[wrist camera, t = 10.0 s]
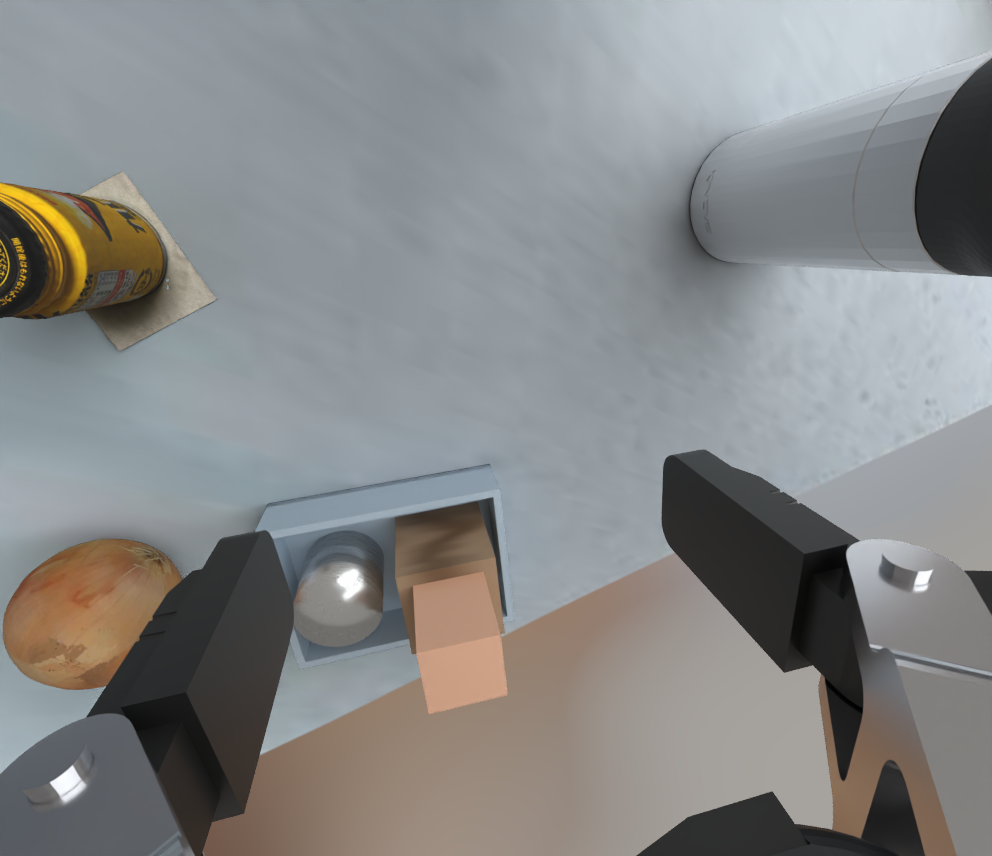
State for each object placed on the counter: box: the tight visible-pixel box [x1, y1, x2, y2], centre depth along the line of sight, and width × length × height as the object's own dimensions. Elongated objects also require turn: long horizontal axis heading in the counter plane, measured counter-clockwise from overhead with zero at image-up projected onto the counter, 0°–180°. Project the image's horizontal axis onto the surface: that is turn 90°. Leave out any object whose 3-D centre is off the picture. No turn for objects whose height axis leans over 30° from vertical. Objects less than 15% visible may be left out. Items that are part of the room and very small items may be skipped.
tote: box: [255, 464, 515, 669], centre depth 40 cm, size 18×13×4 cm
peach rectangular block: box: [413, 572, 508, 714], centre depth 32 cm, size 5×5×6 cm
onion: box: [3, 539, 183, 690], centre depth 33 cm, size 10×10×10 cm
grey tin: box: [293, 530, 384, 647], centre depth 38 cm, size 6×6×6 cm
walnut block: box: [395, 502, 505, 654], centre depth 38 cm, size 7×7×8 cm
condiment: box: [0, 171, 216, 351], centre depth 25 cm, size 7×8×12 cm
